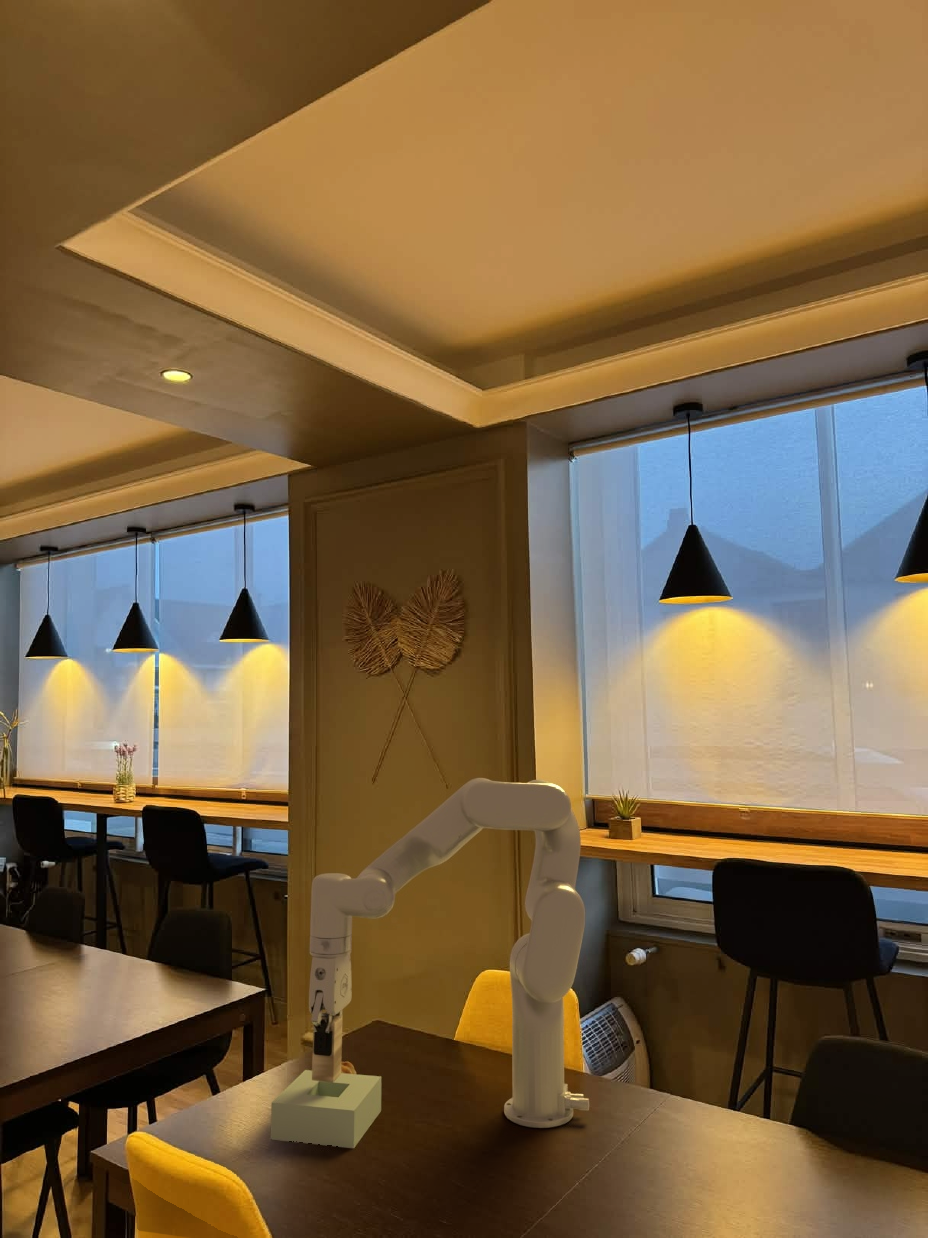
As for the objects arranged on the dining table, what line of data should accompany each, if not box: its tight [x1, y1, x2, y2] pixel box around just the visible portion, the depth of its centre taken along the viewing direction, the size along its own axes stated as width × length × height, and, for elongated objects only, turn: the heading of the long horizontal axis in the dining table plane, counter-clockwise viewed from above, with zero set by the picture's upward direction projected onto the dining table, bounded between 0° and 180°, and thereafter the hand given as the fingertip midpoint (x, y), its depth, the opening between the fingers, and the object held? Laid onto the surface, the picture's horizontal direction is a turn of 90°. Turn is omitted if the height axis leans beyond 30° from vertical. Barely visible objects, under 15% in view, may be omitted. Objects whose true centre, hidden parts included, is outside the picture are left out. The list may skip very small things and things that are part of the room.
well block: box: [270, 1069, 382, 1149], centre depth 159 cm, size 15×15×6 cm
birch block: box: [311, 1015, 343, 1082], centre depth 160 cm, size 4×4×10 cm
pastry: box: [341, 1060, 357, 1074], centre depth 176 cm, size 9×7×4 cm
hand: (327, 1049), depth 160 cm, fingers closed on birch block, 4 cm apart
